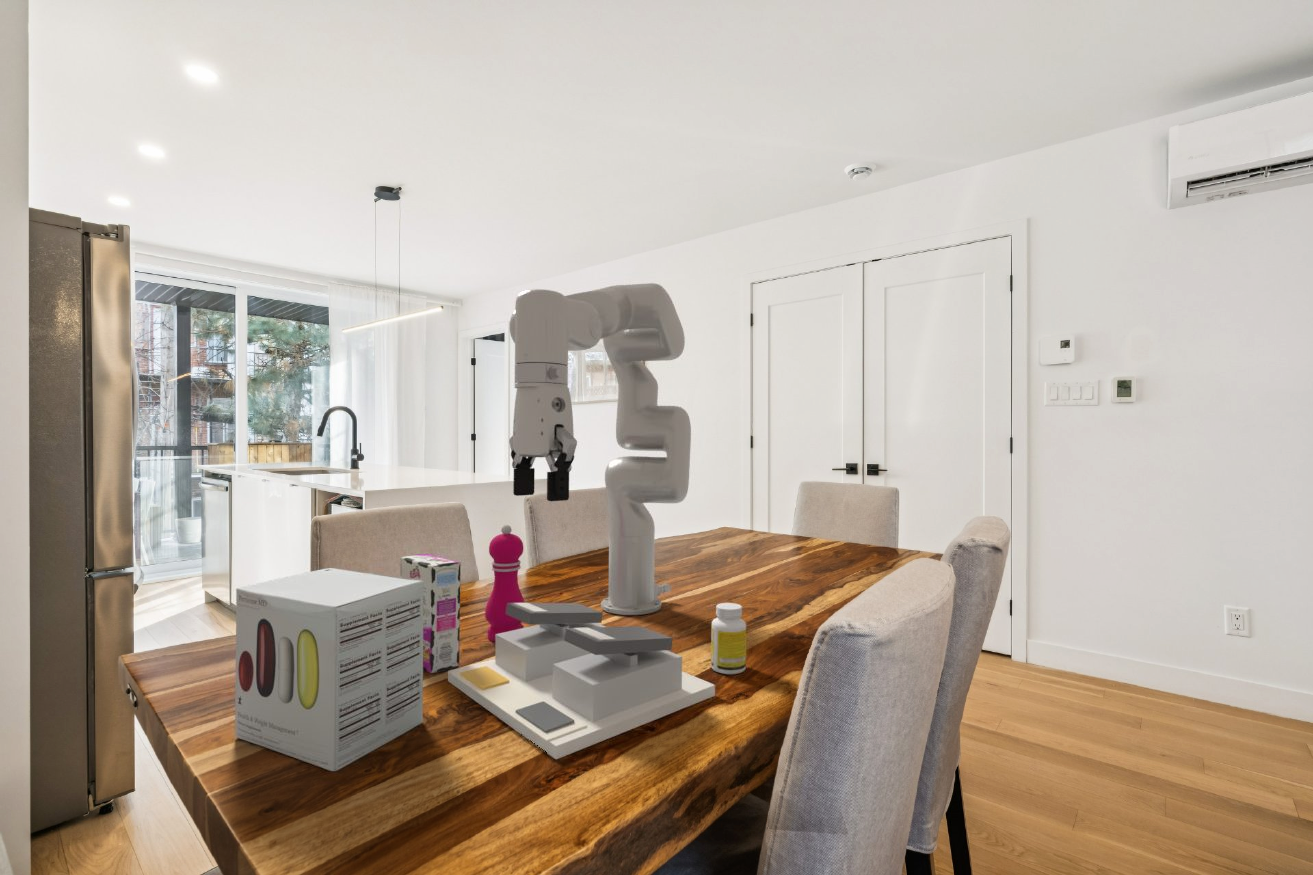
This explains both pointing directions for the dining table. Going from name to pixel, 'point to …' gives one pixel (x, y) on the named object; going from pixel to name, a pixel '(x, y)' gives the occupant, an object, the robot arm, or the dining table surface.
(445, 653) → the candy bar box
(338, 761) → the supplement box
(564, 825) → the dining table surface
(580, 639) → the plain switch
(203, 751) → the dining table surface
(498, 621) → the pepper mill
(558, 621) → the marked switch
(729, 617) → the supplement bottle
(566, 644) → the switch unit
